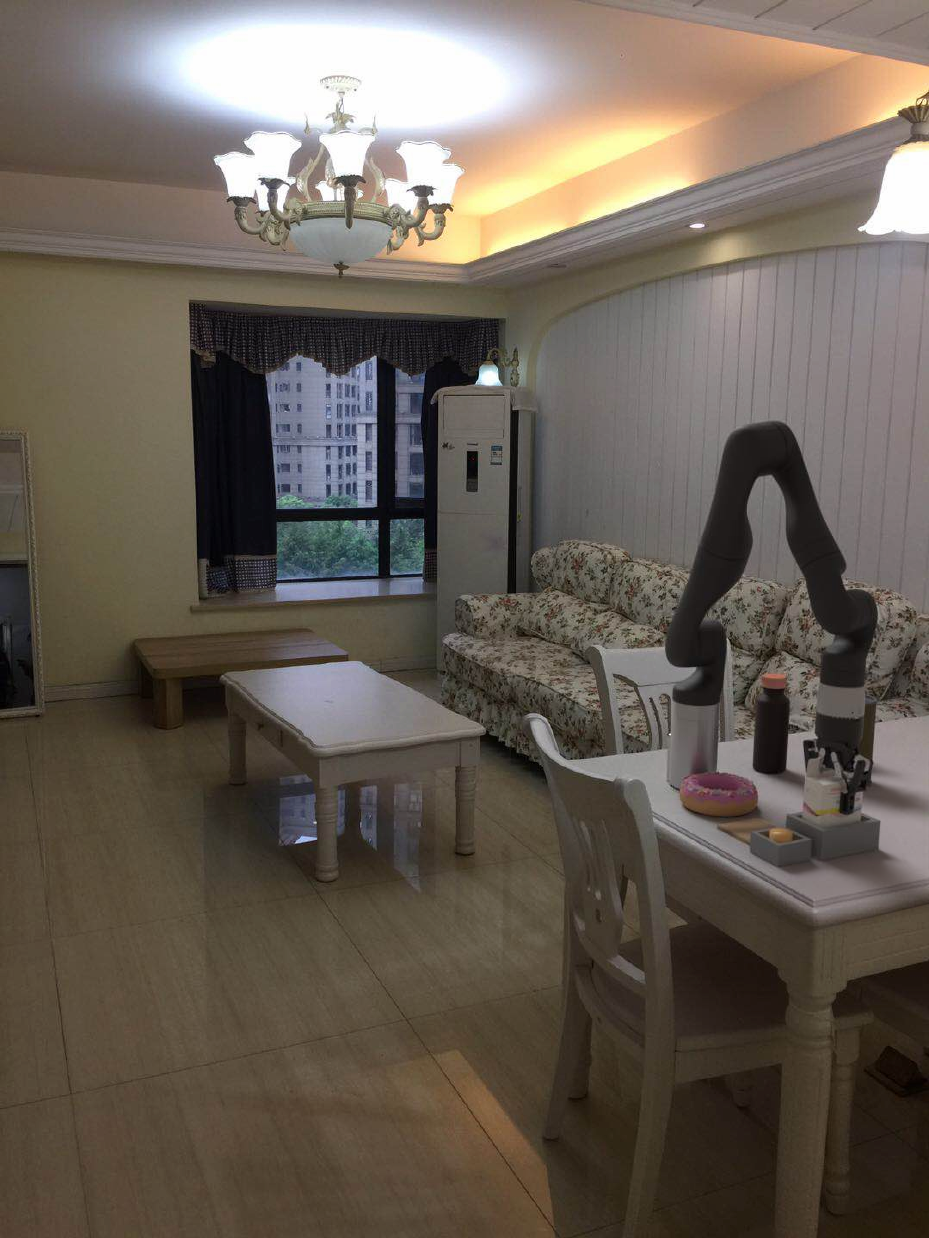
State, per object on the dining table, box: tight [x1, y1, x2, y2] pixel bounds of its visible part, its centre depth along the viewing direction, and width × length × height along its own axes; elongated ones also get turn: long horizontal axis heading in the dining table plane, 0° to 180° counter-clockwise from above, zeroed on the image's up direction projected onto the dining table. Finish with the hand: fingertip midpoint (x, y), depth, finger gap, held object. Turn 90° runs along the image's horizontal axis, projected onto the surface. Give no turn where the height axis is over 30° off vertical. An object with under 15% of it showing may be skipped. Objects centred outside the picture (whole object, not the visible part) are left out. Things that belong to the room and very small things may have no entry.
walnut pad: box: [716, 817, 777, 846], centre depth 181 cm, size 9×9×1 cm
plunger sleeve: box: [749, 825, 812, 868], centre depth 170 cm, size 7×7×4 cm
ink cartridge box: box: [801, 758, 864, 828], centre depth 174 cm, size 9×5×15 cm, turn 111°
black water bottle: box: [752, 673, 791, 775], centre depth 215 cm, size 7×7×20 cm
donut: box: [679, 771, 759, 818], centre depth 194 cm, size 14×14×5 cm
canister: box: [845, 693, 879, 788], centre depth 208 cm, size 11×10×20 cm
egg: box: [769, 828, 793, 843], centre depth 170 cm, size 4×4×4 cm
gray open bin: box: [785, 811, 881, 862], centre depth 174 cm, size 8×12×5 cm
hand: (833, 807), depth 174 cm, fingers closed on ink cartridge box, 5 cm apart
